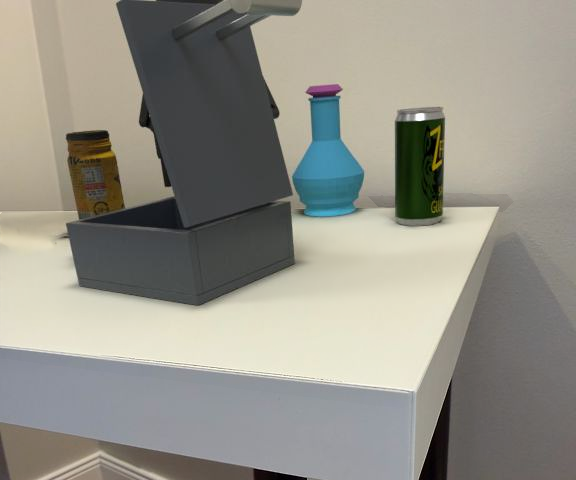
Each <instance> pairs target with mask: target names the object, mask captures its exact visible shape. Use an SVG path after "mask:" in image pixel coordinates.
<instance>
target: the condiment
mask: <svg viewBox="0 0 576 480" xmlns="http://www.w3.org/2000/svg"><path fill="white" fill-rule="evenodd" d="M110 139H111V138H110V133H109V131H108V130H107V129H99V130H98V129H96V130H95V129H94V130H93V129H92V130H84V131H82V130H81V131H73V132H67V133H66V134H65V140H66V143H67V149H66V150H67V152H68V156H67V160H66V162H67V166H68V167H67V168H68V171H69V177H70V182H71V187H72V191H73V197H74V202H75V206H76V212H77V216H78V217H77V218H78V220H80V219H84V218H88V217H92V216H96V215H100V214H104V213H108V212H112V211H116V210H121V209H125V208H126V205H125V200H124V194H123V188H122V183H121V177H120V171H119V166H118V159H117V156H116V153H115V152H114V151H113V149H112V145H113V144H112V141H111V140H110ZM59 236H61V237H62V236H63V237H64V236H65V237H69V236H68V232H63V233H61V234H59Z"/></svg>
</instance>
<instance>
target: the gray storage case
mask: <svg viewBox="0 0 576 480" xmlns="http://www.w3.org/2000/svg"><path fill="white" fill-rule="evenodd" d="M292 216H293V215H292V204H291V201H290V200H276V201H273V202H269V203H266V204H263V205H259V206H256V207H253V208H250V209H246V210H243V211H240V212H236V213H233V214H230V215H226V216H223V217H220V218H216V219H213V220H210V221H206V222H203V223H200V224H196V225H193V226H189V227H186V228H185V227H184V225H183V222H182V219H181V216H180V212H179V209H178V206H177V203H176V199H175V196H169V197H166V198H162V199H158V200H152V201H149V202H145V203H141V204H137V205H133V206H129V207H125V209H121V210H116V211H112V212H108V213H104V214H100V215H96V216H92V217H88V218H84V219H80V220H79V219H75V220H72V221H68V222H66V223H65V227H66V231H67V232H68V236H67V237H68V240H69V245H70V250H71V254H72V259H73V263H74V268H75V273H76V277H77V282H78V286H79V287H83V288H89V289H96V290H101V291H107V292H113V293H121V294H126V295H132V296H133V295H134V296H139V297H145V298H151V299H157V300H164V301H169V302H175V303H182V304H189V305H194V306H200V305H202V304H205V303H207V302H210V301H212V300H214V299H216V298H218V297H221V296H223V295H226V294H227V293H230V292H233V291H235V290H237V289H239V288H241V287H244V286H246V285H248V284H251V283H253V282H255V281H258V280H260V279H263V278H265V277H267V276H270V275H272V274H274V273H277V272H279V271H281V270H283V269H285V268H288V267H290V266H293V265H294V264H296V262H295V261H296V260H295V245H294V232H293V230H294V229H293V217H292ZM67 232H66V233H67Z"/></svg>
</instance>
